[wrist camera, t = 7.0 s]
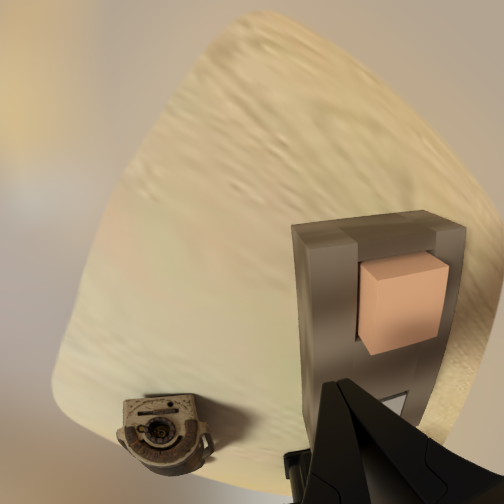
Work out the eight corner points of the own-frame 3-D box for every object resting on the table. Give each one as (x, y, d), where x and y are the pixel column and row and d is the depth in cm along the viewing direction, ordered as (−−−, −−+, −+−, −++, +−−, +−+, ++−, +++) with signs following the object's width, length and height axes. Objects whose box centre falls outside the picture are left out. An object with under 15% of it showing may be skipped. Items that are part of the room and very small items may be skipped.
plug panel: (398, 390, 24) (418, 425, 20) (302, 414, 24) (312, 455, 20) (423, 210, 19) (466, 227, 14) (291, 225, 19) (308, 249, 14)
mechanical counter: (254, 450, 19) (118, 438, 15) (209, 510, 21) (112, 503, 17) (231, 391, 25) (123, 373, 22) (197, 461, 28) (112, 450, 24)
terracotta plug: (401, 299, 19) (436, 336, 14) (344, 311, 19) (371, 355, 14) (405, 239, 17) (449, 265, 13) (344, 248, 17) (377, 280, 13)
